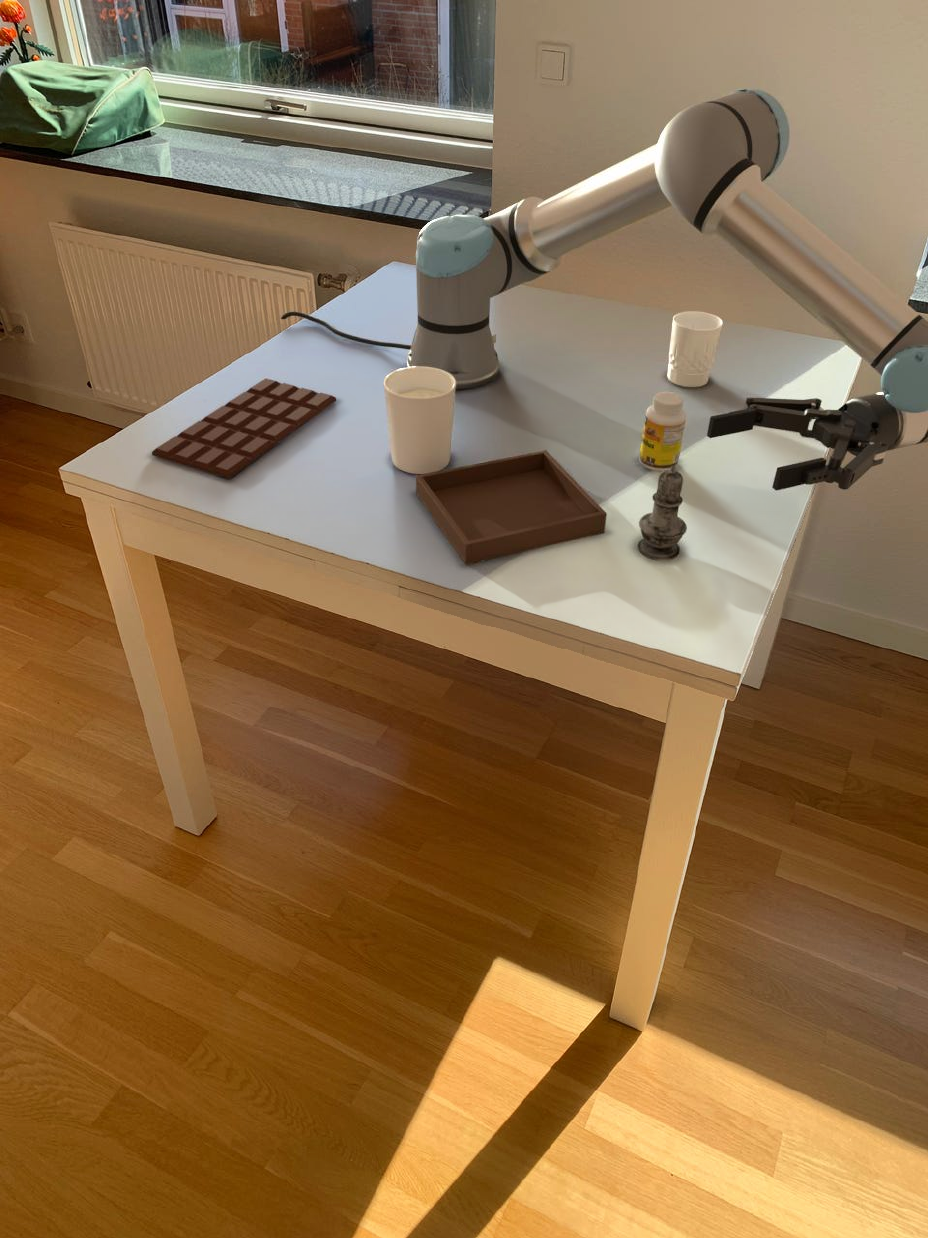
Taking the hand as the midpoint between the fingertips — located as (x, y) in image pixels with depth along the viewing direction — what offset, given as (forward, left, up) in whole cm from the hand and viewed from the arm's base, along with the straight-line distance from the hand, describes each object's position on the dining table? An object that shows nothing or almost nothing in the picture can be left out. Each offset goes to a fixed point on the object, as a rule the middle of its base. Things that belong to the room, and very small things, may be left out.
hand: (741, 452), depth 117 cm
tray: (-23, -16, -12) cm, 30 cm away
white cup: (-28, +36, -12) cm, 47 cm away
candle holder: (-41, -14, -12) cm, 45 cm away
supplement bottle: (-16, +9, -12) cm, 22 cm away
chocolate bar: (-66, -25, -12) cm, 72 cm away
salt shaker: (-4, -9, -12) cm, 15 cm away
